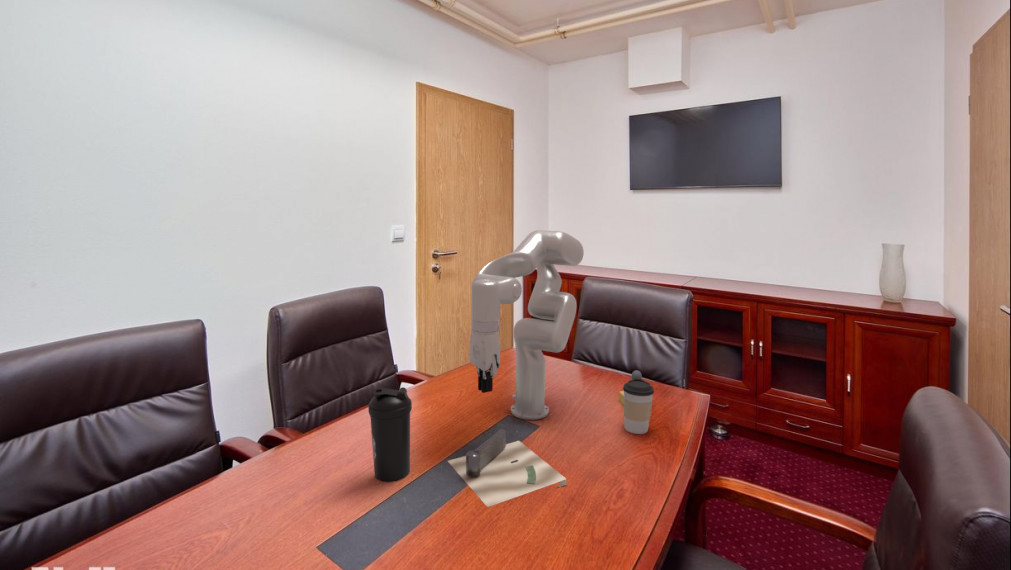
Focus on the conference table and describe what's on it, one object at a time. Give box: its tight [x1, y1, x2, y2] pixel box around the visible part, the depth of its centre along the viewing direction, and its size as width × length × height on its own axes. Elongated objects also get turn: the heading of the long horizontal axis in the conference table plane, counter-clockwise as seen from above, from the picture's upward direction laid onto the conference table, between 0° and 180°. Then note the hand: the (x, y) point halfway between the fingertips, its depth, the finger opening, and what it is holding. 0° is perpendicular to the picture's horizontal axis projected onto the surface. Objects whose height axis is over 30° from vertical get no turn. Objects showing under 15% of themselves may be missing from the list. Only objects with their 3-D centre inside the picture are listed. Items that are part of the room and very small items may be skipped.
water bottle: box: [367, 386, 413, 483], centre depth 116 cm, size 10×10×23 cm
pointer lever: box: [465, 428, 507, 477], centre depth 122 cm, size 17×4×5 cm, turn 150°
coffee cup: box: [622, 378, 655, 435], centre depth 144 cm, size 9×9×15 cm
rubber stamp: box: [618, 370, 653, 407], centre depth 163 cm, size 10×6×12 cm, turn 100°
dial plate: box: [447, 440, 568, 508], centre depth 119 cm, size 22×22×2 cm
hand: (485, 390), depth 130 cm, fingers closed
